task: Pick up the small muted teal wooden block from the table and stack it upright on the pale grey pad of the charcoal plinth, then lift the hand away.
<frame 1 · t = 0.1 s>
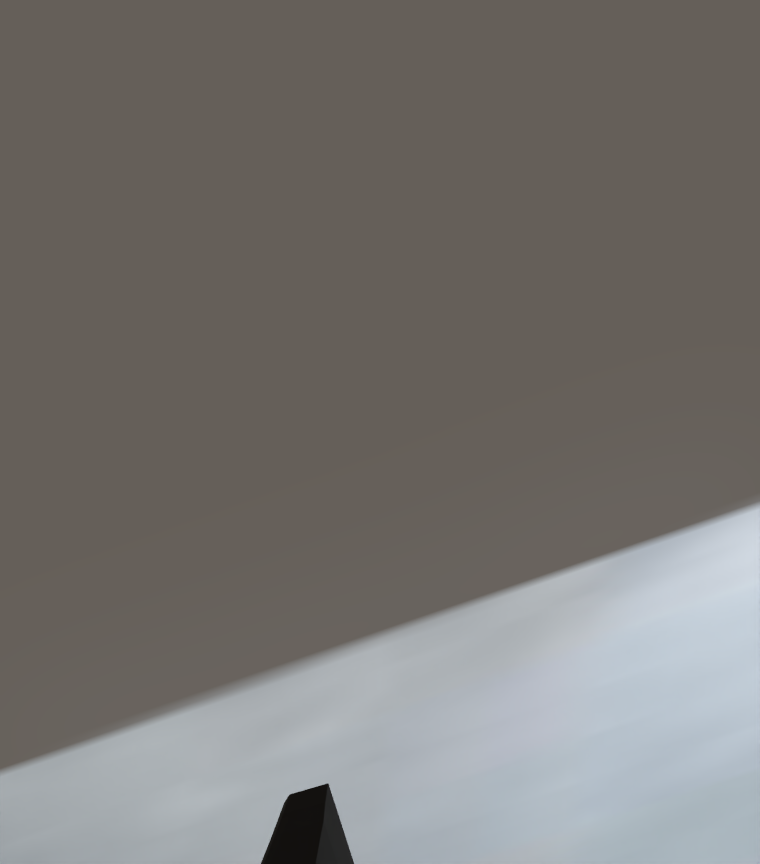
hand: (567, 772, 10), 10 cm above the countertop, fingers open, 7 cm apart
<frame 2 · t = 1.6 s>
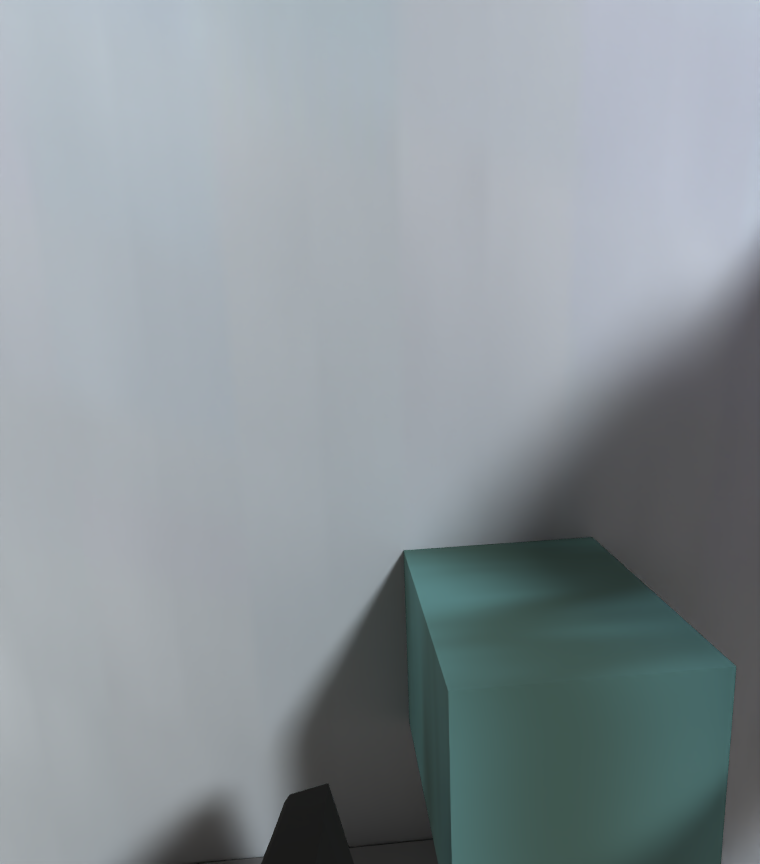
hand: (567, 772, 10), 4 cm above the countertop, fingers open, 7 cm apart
teal block: (498, 630, 14), on the countertop
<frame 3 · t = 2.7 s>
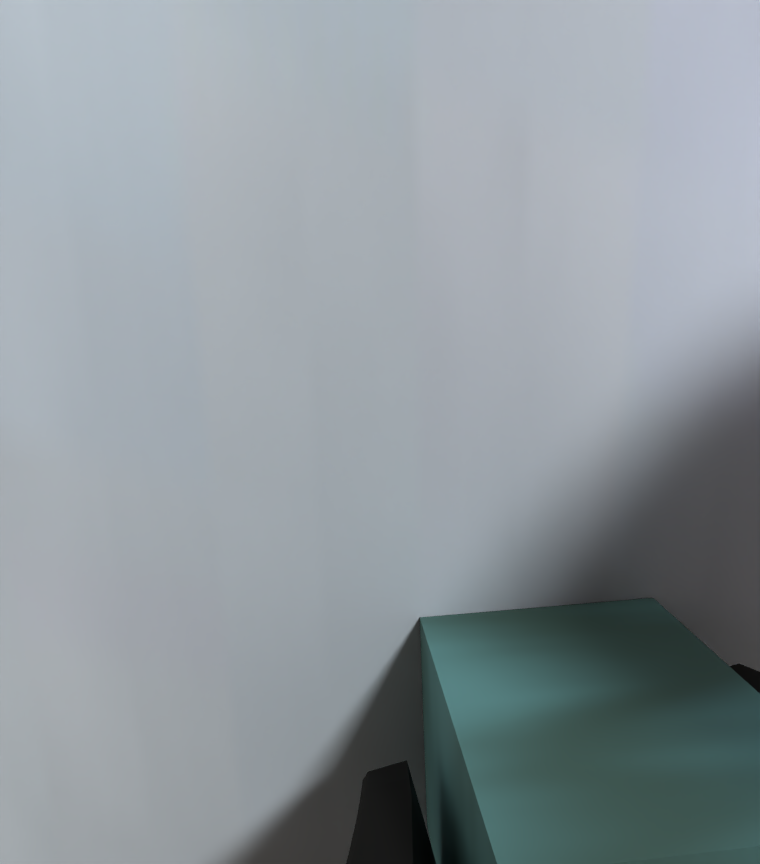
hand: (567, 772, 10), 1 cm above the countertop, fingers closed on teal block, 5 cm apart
teal block: (537, 714, 11), on the countertop, touching gripper
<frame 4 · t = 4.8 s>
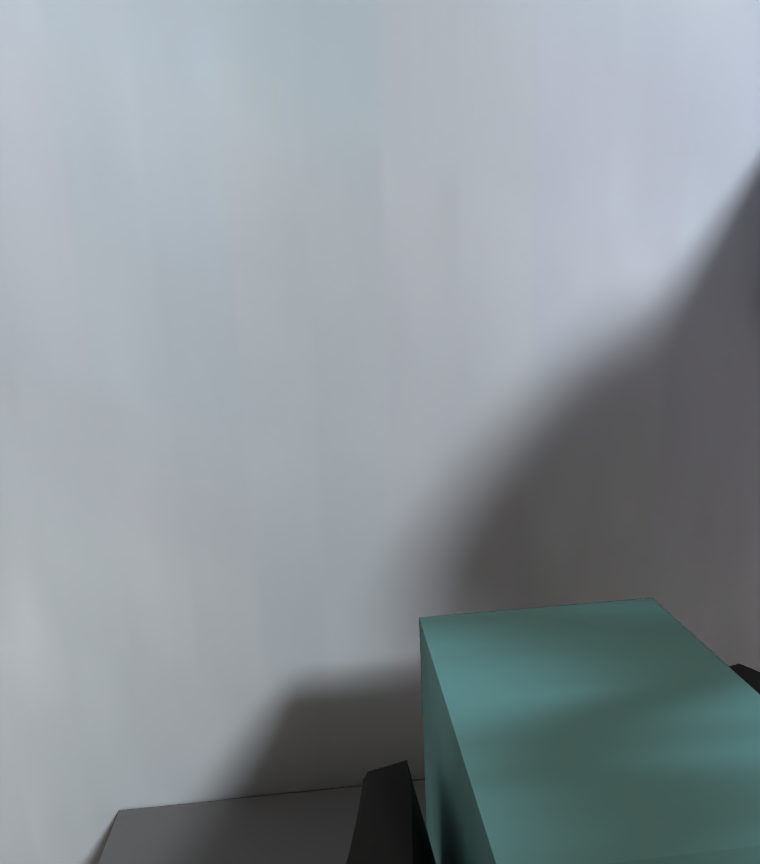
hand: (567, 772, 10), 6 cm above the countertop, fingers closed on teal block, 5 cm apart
teal block: (536, 714, 11), point 5 cm above the countertop, touching gripper
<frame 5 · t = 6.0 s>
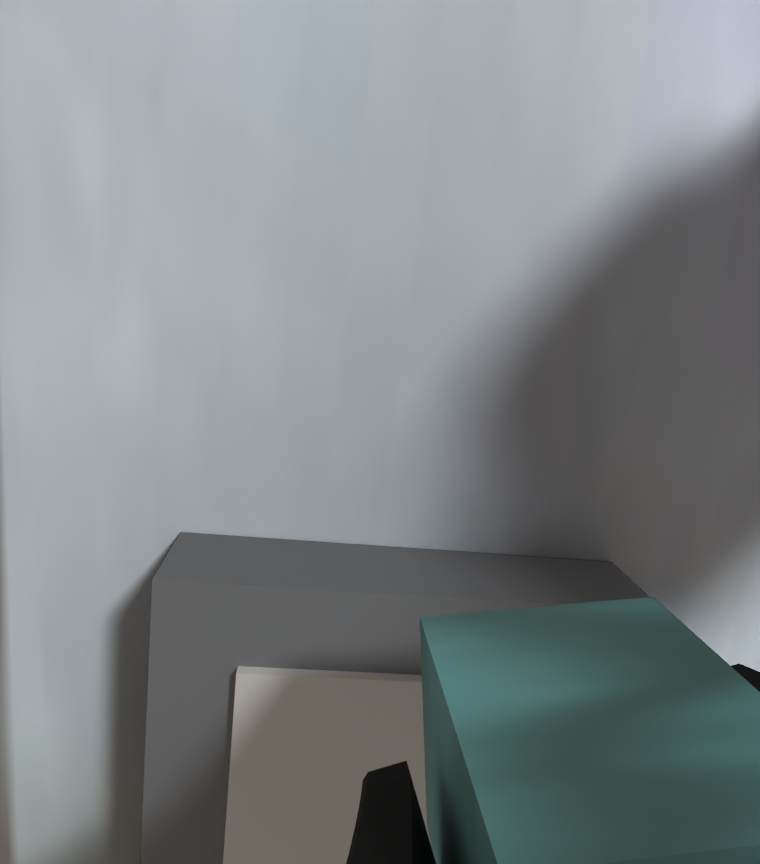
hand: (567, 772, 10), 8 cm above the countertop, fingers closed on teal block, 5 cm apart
charcoal plinth: (380, 740, 19), on the countertop
teal block: (537, 713, 11), point 7 cm above the countertop, touching gripper
when the fingers open (5 cm above the countertop, at t = 8.1 s): teal block stays where it is, resting on charcoal plinth.
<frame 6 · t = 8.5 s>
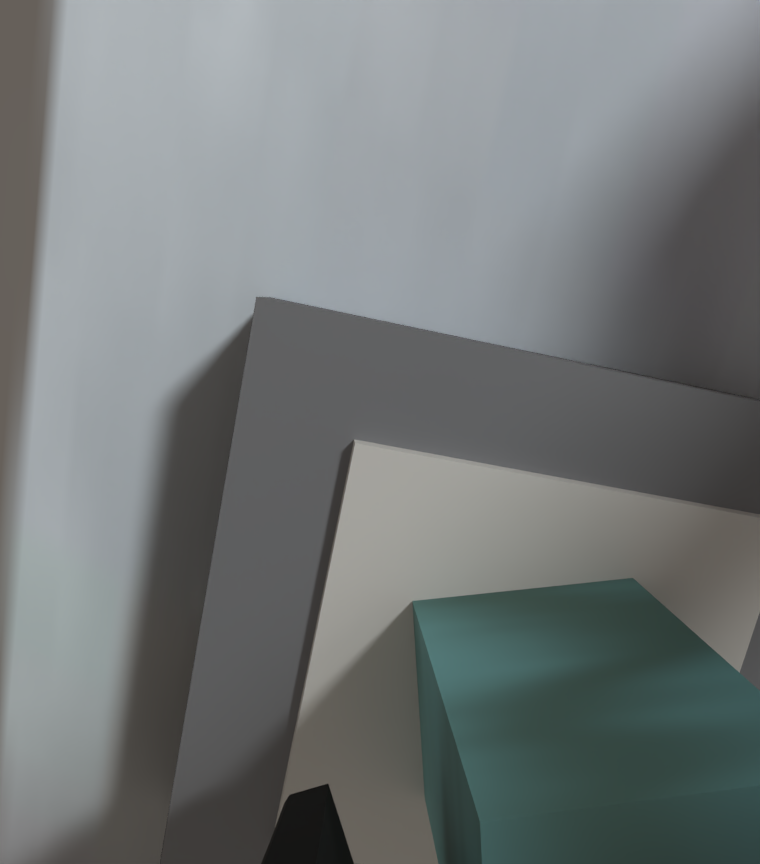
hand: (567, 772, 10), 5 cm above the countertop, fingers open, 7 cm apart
charcoal plinth: (482, 609, 15), on the countertop
teal block: (526, 690, 12), point 3 cm above the countertop, touching charcoal plinth
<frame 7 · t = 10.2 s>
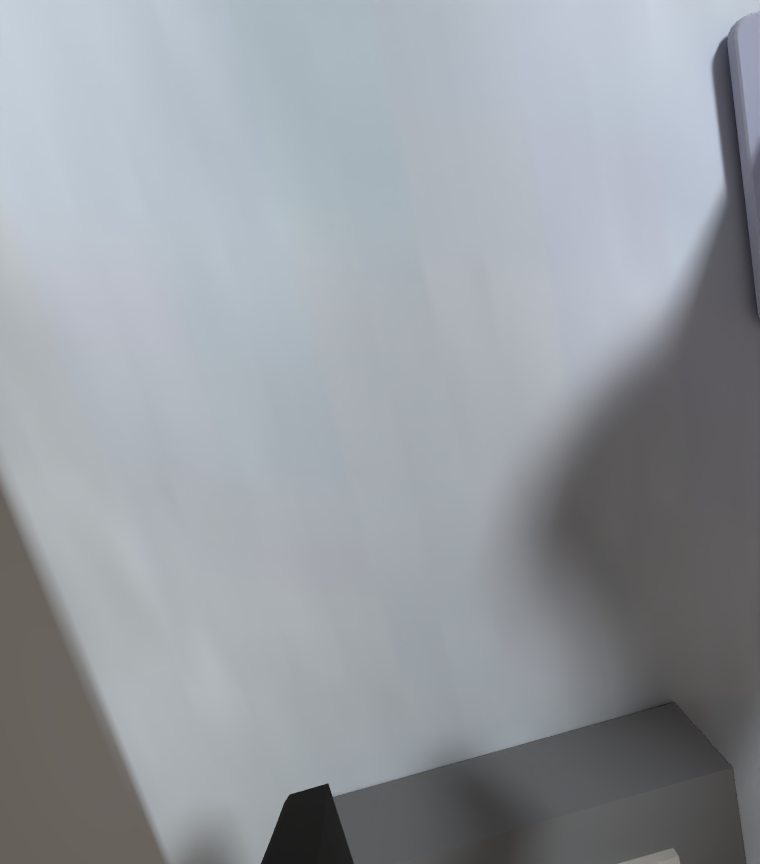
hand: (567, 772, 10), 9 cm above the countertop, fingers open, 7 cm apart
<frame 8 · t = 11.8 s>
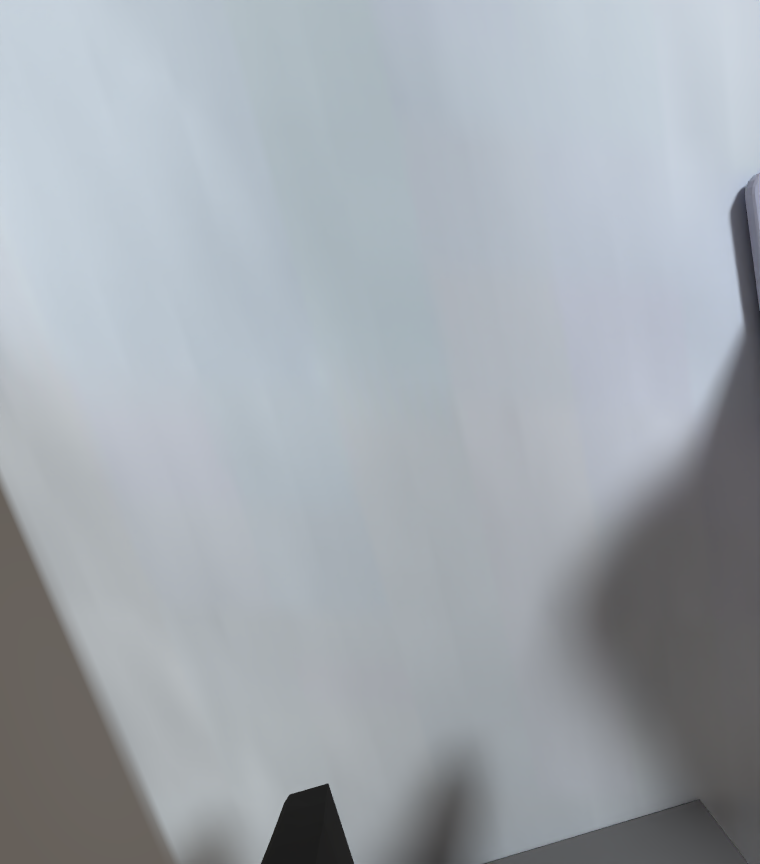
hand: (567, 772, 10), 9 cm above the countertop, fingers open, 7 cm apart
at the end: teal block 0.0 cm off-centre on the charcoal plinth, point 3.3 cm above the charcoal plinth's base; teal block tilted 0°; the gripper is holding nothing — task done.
